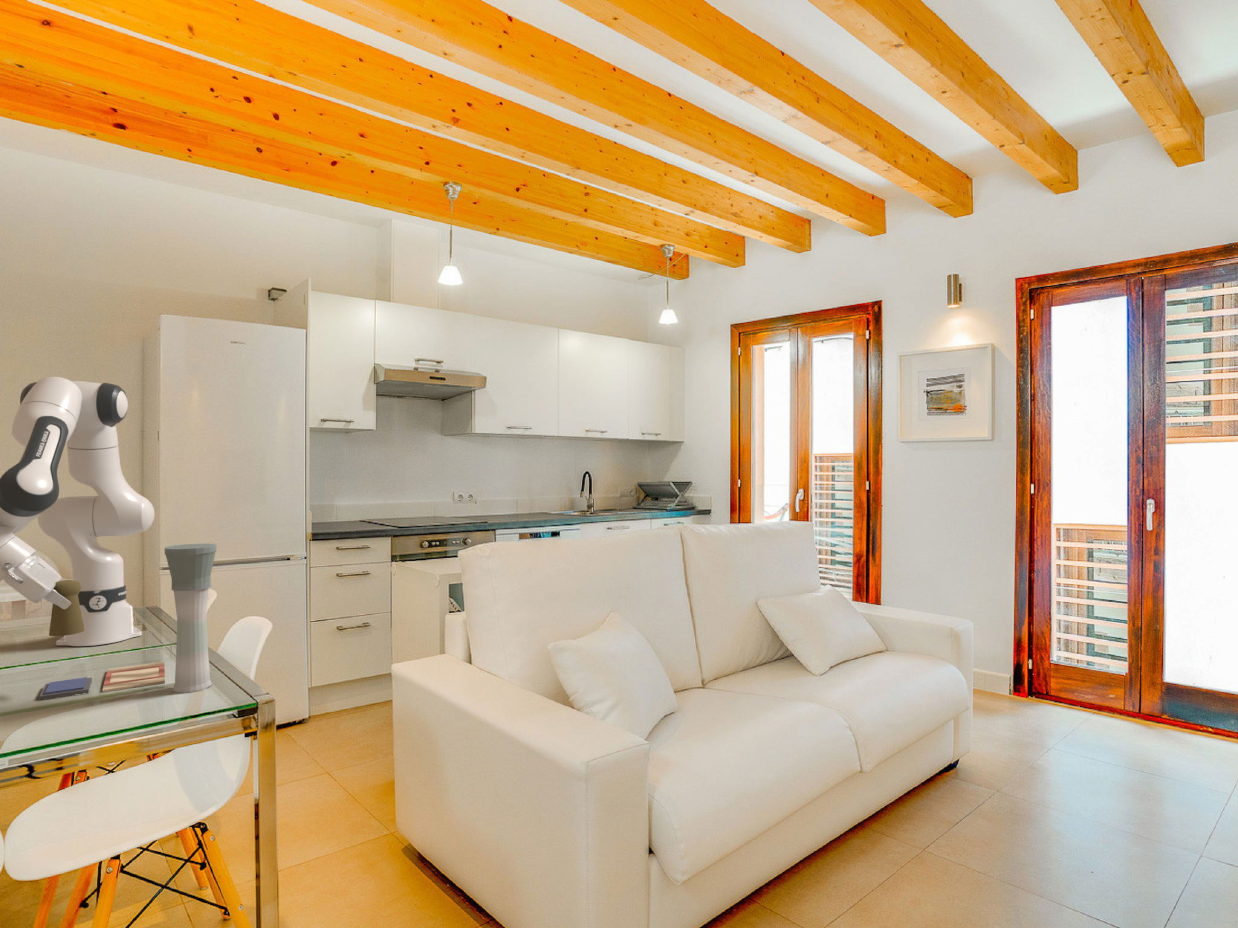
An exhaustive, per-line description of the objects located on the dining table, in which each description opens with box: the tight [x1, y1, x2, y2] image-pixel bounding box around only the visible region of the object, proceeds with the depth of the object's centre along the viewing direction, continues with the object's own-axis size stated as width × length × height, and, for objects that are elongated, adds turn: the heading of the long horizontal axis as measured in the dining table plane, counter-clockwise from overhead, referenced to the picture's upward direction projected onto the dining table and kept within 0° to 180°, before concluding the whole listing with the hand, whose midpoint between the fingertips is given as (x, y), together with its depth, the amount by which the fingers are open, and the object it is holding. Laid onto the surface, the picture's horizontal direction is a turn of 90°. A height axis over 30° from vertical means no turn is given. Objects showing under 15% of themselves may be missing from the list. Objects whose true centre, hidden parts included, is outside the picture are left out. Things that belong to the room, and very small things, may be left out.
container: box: [164, 543, 217, 694], centre depth 153 cm, size 10×10×30 cm
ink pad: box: [38, 676, 93, 701], centre depth 152 cm, size 10×8×1 cm
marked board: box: [102, 661, 166, 693], centre depth 161 cm, size 18×11×1 cm, turn 32°
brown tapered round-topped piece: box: [48, 579, 85, 637], centre depth 153 cm, size 6×6×11 cm
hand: (70, 604), depth 153 cm, fingers closed on brown tapered round-topped piece, 4 cm apart
